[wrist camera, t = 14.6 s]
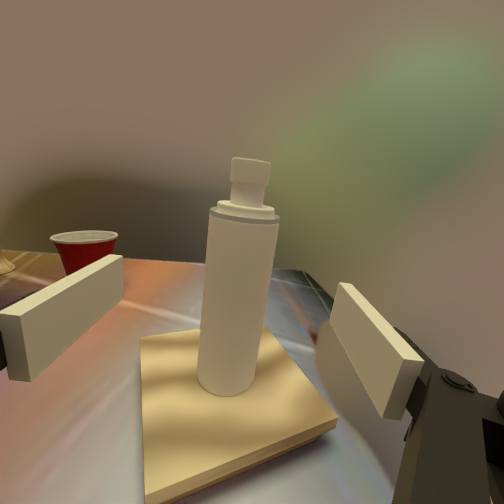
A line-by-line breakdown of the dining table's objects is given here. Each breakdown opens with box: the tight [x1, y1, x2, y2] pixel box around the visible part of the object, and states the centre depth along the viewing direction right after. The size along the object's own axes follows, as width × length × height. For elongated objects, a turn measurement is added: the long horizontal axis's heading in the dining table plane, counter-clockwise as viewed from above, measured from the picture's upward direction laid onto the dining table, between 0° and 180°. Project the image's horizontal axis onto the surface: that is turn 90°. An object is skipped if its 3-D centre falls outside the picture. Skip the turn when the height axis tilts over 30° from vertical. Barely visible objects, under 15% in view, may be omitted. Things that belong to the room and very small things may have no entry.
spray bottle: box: [197, 158, 280, 397], centre depth 25 cm, size 7×7×25 cm
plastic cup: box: [50, 231, 118, 276], centre depth 48 cm, size 11×11×12 cm
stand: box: [140, 324, 338, 504], centre depth 29 cm, size 18×18×4 cm
